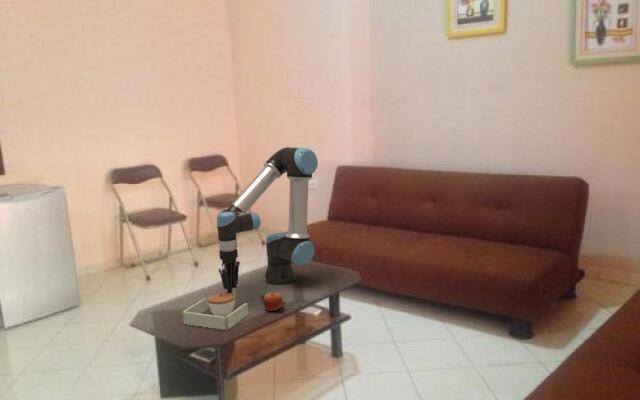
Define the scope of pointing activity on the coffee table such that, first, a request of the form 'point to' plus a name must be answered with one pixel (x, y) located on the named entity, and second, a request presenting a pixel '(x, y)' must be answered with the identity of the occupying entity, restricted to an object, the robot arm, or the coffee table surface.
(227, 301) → the lidded jar
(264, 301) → the apple
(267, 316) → the coffee table surface
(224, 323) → the bin
